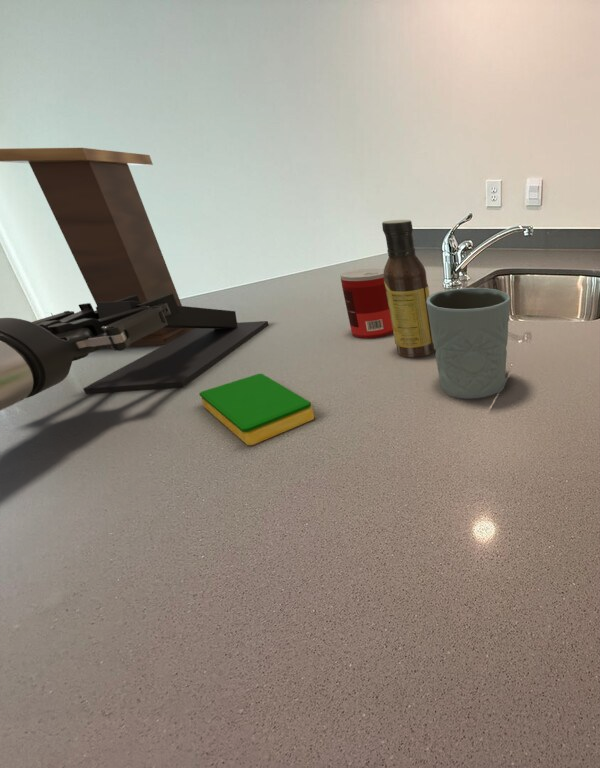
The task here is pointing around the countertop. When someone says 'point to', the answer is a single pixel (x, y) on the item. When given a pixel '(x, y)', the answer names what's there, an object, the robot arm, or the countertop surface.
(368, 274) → the canned food
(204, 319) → the long black bar
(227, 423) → the dish sponge
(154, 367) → the black base pad
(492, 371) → the grey cup
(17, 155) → the stand
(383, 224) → the sauce bottle
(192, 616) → the countertop surface
